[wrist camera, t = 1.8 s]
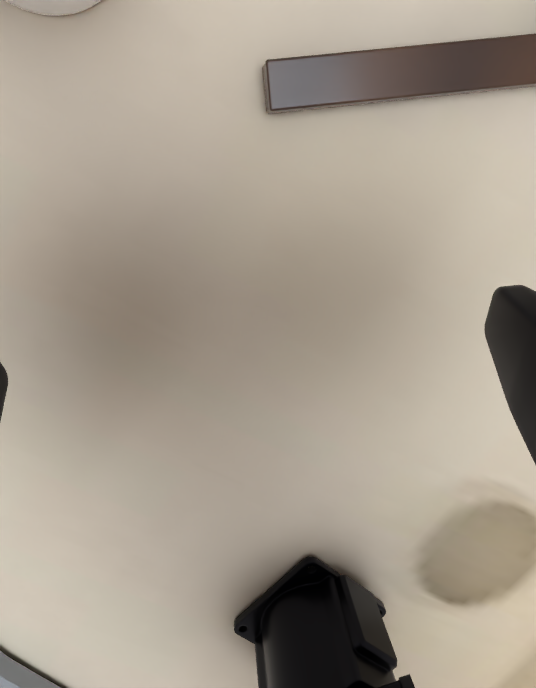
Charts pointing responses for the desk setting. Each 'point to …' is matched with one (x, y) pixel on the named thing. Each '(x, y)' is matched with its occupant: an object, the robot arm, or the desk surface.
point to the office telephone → (20, 675)
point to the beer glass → (53, 6)
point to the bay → (399, 73)
